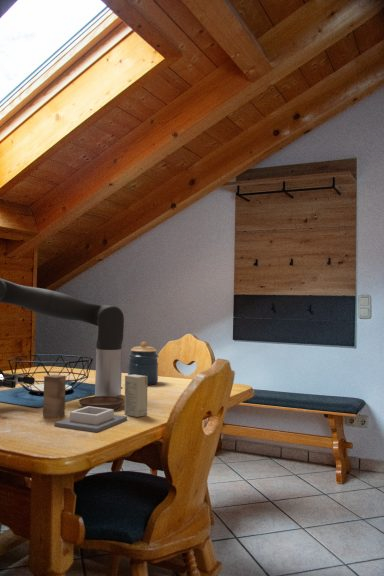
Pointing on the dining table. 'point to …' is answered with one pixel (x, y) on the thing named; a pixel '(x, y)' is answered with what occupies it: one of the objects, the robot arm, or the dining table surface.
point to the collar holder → (91, 419)
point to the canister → (144, 362)
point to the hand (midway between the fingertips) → (24, 382)
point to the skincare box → (136, 395)
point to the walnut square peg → (54, 396)
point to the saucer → (102, 402)
